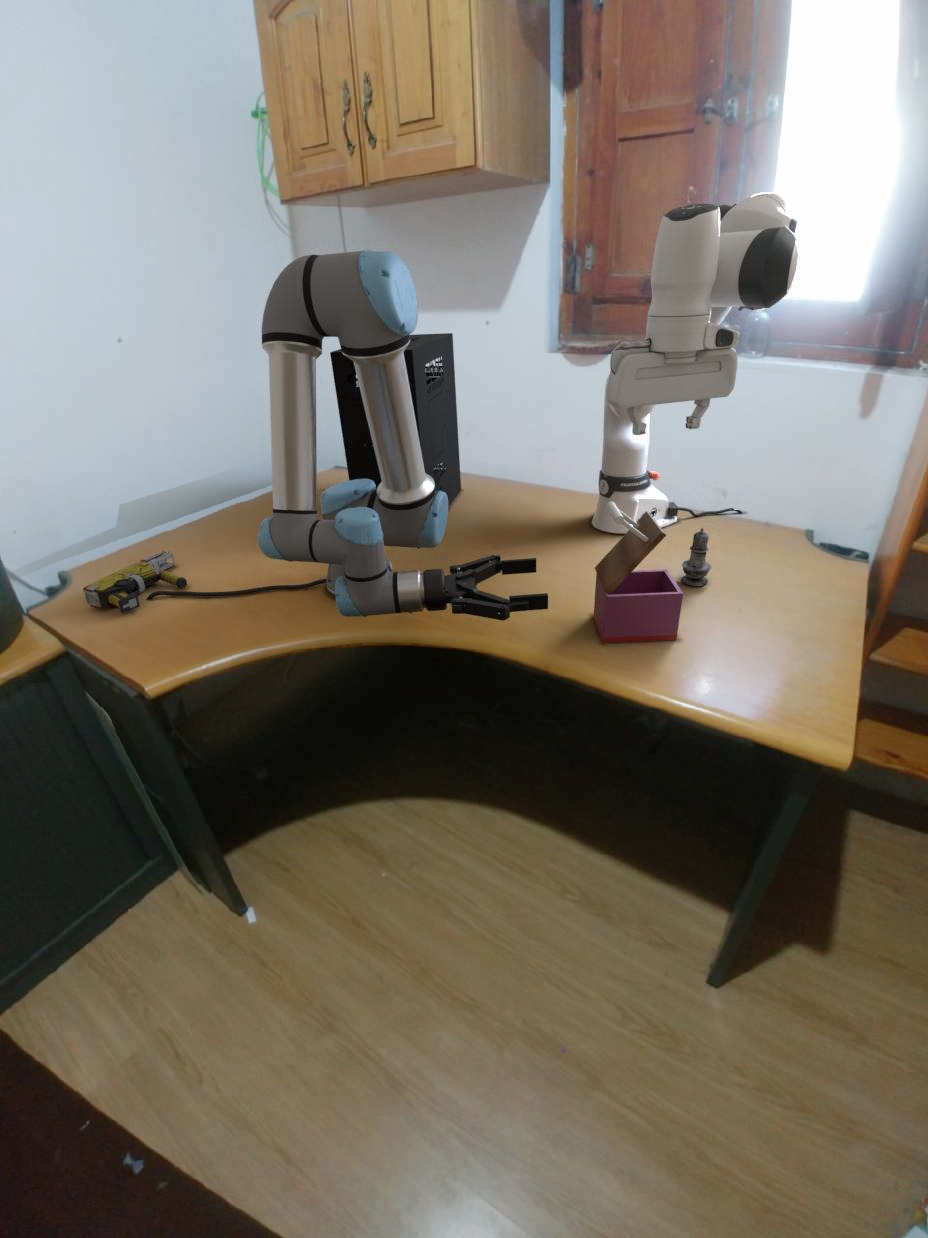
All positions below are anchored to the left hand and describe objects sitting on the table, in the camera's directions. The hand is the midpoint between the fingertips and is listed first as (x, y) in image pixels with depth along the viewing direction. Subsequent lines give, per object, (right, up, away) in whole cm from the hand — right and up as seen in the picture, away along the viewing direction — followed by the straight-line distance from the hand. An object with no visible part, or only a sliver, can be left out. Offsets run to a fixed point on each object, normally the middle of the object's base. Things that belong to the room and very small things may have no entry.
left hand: (541, 582), depth 108 cm
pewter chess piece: (+35, +1, +21) cm, 41 cm away
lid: (+16, +5, -2) cm, 16 cm away
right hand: (+18, +23, -12) cm, 32 cm away
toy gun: (-86, 0, +31) cm, 91 cm away
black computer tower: (-29, +26, +69) cm, 79 cm away
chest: (+18, -8, +6) cm, 21 cm away
